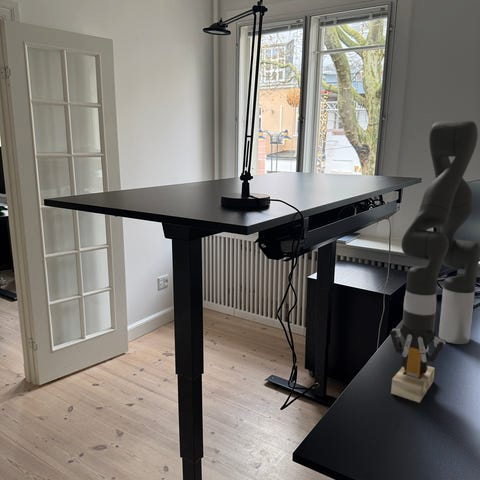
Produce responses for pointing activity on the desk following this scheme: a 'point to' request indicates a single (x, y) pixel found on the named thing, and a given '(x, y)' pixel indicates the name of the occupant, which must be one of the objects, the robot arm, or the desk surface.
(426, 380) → the socket block
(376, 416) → the desk surface
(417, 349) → the supplement box
